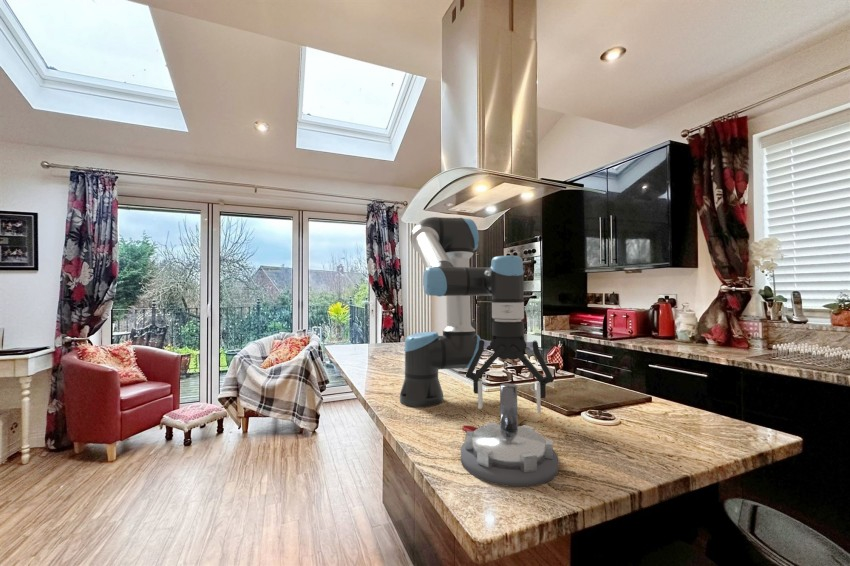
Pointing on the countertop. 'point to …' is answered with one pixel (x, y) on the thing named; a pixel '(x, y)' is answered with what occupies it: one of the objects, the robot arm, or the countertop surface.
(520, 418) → the shard
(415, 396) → the robot arm
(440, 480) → the countertop surface
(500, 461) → the tabbed dome lid
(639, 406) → the countertop surface
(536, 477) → the base plate
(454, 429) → the countertop surface
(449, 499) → the countertop surface
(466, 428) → the cayenne pepper
